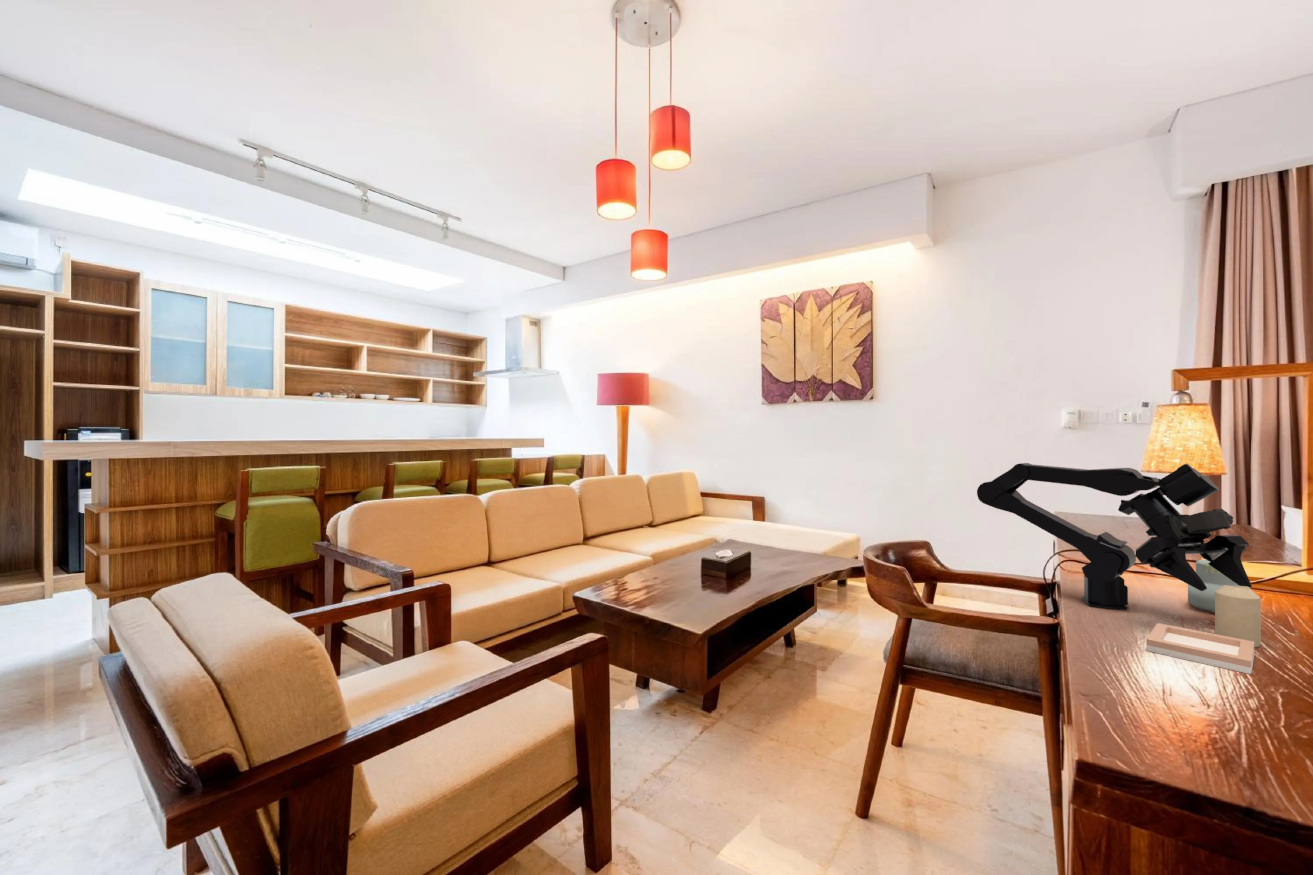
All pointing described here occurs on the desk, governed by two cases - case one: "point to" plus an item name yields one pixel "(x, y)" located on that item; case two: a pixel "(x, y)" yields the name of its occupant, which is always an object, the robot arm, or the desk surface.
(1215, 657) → the tray
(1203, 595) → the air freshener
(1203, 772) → the desk surface
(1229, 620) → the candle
